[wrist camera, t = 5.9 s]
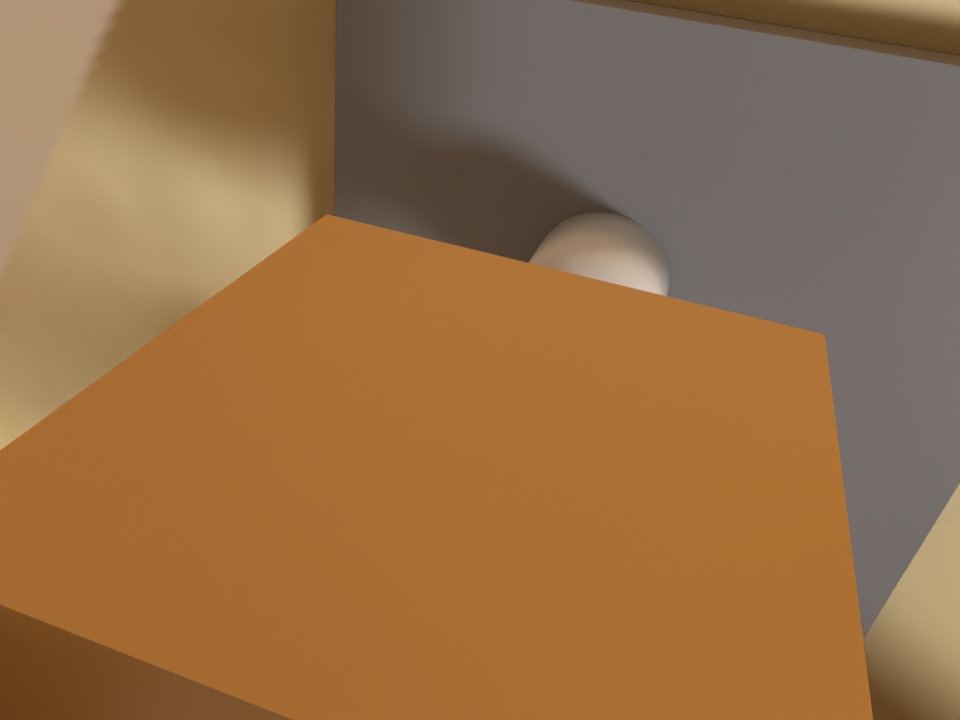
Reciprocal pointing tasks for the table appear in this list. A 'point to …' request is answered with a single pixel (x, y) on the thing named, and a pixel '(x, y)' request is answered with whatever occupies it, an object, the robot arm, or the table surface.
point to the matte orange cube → (435, 506)
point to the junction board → (694, 194)
